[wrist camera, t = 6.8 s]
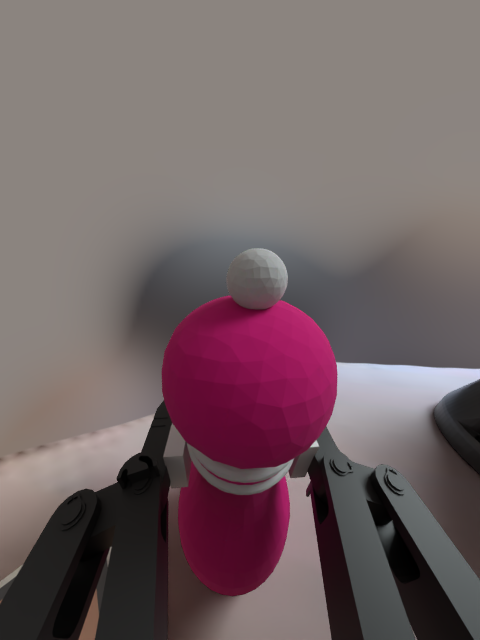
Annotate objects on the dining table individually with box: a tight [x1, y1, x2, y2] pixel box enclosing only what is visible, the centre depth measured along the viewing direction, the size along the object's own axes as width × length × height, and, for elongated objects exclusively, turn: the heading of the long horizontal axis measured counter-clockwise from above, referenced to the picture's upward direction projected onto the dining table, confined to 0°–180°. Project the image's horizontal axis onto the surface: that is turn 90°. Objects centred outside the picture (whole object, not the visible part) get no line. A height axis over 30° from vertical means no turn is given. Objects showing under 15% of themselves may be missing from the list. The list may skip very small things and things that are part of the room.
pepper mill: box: [162, 248, 337, 596], centre depth 9 cm, size 7×7×20 cm
